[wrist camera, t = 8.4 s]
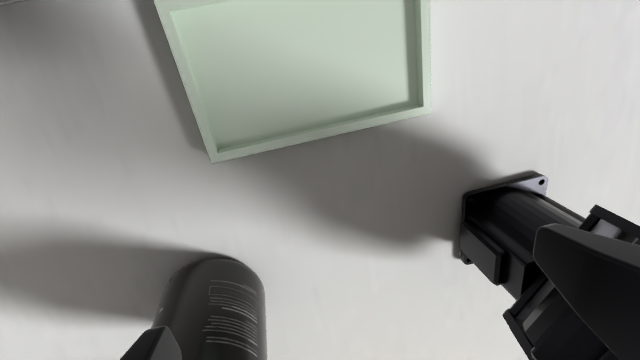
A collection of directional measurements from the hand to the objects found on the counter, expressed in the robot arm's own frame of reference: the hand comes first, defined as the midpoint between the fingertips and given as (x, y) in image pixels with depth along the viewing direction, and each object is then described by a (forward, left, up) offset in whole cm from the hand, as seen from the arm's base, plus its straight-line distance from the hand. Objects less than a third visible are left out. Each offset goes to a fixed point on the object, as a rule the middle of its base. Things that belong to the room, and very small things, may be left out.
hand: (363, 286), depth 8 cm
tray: (-1, -4, -13) cm, 14 cm away
